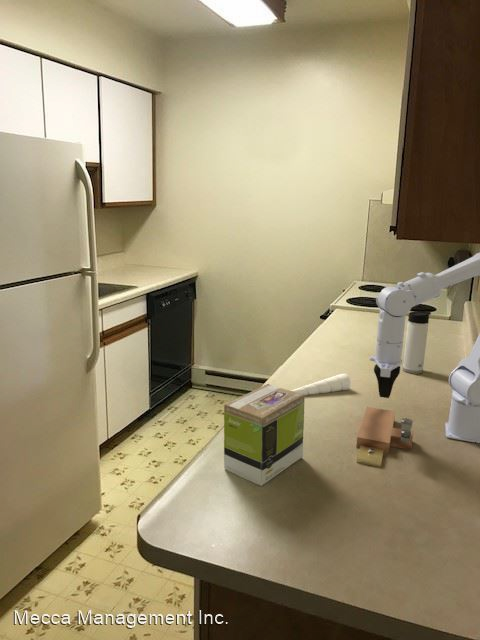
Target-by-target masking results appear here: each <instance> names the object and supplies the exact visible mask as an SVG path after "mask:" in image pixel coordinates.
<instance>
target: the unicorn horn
mask: <svg viewBox="0 0 480 640" xmlns="http://www.w3.org/2000/svg"><path fill="white" fill-rule="evenodd" d="M351 382H352V381H351V378H350V376H349V375H348V374H347V373H340V374H337V375H333V376H332V377H331V376H330V377H327V378H325V379H322V380H319V381H315V382H312V383H309V384H306V385H302V386H300V387H298V388H295V389H291V390H290V391H293V392H296V393H300V394H303V395H305V396H308V395H309V396H311V395H318V394H326V393H327V394H328V393H330V392H331V393H334V392H340V391H347V390H349V389H350V388H351V386H352V385H351Z"/></svg>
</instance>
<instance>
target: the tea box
mask: <svg viewBox="0 0 480 640" xmlns="http://www.w3.org/2000/svg"><path fill="white" fill-rule="evenodd" d="M305 396H306V395H303V394H300V393H296V392H293V391H291V390H288V389H285V388H282V387H279V386H276V385H271V384H270V383H267V384H265V385H262V386H260V387H258V388H255V389H254V390H252V391H250V392H248V393H245V394H244V395H241V396H239V397H237V398H235V399H233V400H231V401H230V402H227V403H225V404H224V405H223V407H224V408H223V422H224V423H223V424H224V425H223V436H224V438H223V468H224V470H225V471H227V472H230V473H232V474H234V475H236V476H238V477H240V478H241V479H245V480H247V481H249V482H250V483H253V484H256V485H258V486H261V487H262V486H263V485H265V484H266V483H267V482H269V481H271V480H272V479H273V478H275V477H276V476H278V475H279V474H281V473H282V472H284V471H285V470H286V469H288V468H289V467H290V466H292V465H293V464H295V463H296V462H298V461H299V460H300V459H301V458H303V455H304V454H303V452H304V451H303V450H304V428H305V427H304V425H305V400H306V399H305V398H306V397H305Z"/></svg>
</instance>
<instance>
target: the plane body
mask: <svg viewBox="0 0 480 640" xmlns="http://www.w3.org/2000/svg"><path fill="white" fill-rule="evenodd" d="M395 416H396V411H395V410H388V409H382V408H378V407H377V408H376V407H371V406H366V408H365V412H364V415H363V418H362V420H361V425H360V426H359V431H358V434H357V436H356V437H357V438H356V447H355V448H358V449H360V446H361V445H363V446H368V447H373V448H378V449H383V450H384V452H383V454H389V453H390V447H394V448H398V449H399V448H400V449H406V450H410V451H411V450H412V445H413V437H414V436H413V435H414V431H413V430H411V437H410V442H406V441H401V430H402V428H396V427H394V425H395V418H396V417H395Z"/></svg>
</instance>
